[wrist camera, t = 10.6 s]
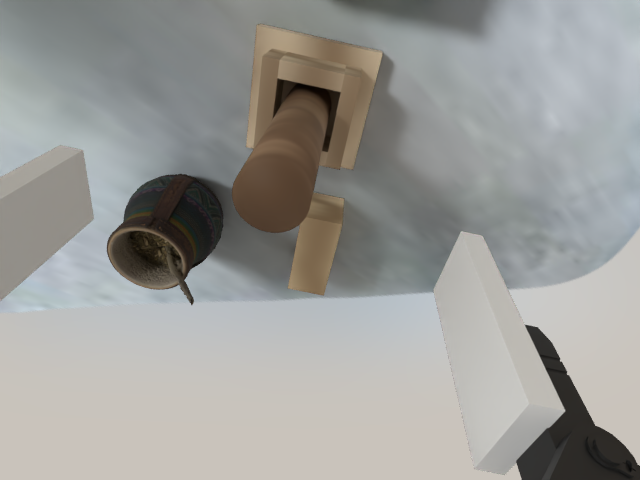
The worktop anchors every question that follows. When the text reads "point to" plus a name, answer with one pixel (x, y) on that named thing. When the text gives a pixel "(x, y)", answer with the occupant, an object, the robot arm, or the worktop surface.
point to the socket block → (316, 70)
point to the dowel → (284, 163)
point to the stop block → (317, 244)
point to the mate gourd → (166, 232)
